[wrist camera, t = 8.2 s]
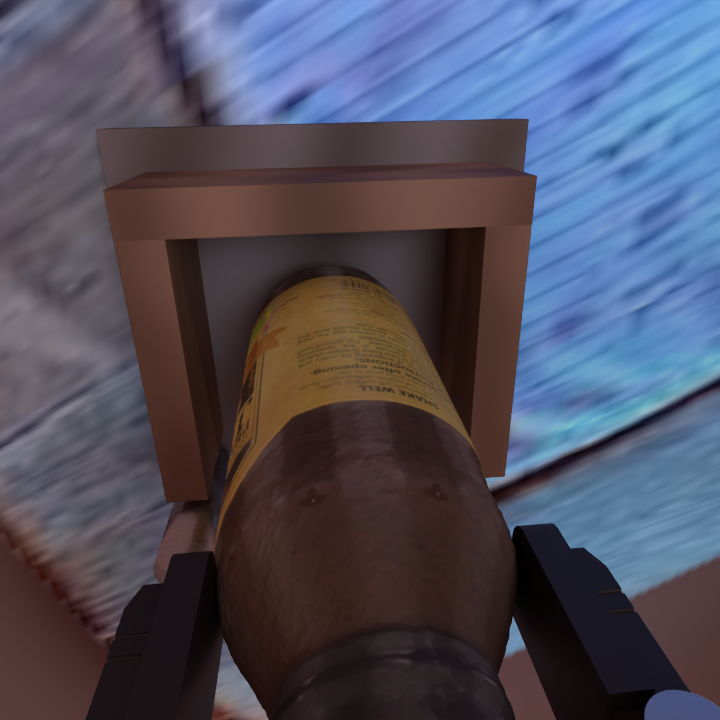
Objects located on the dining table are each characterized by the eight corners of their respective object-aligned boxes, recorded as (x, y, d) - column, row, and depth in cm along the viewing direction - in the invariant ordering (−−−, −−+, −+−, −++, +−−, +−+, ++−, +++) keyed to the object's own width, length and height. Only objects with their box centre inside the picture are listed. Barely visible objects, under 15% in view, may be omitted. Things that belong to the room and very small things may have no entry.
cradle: (519, 118, 22) (590, 122, 17) (491, 422, 28) (538, 497, 23) (104, 128, 21) (36, 135, 15) (165, 444, 27) (131, 531, 21)
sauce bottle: (230, 286, 21) (-153, 1258, 3) (387, 239, 21) (879, 995, 3) (283, 423, 24) (233, 1368, 6) (423, 383, 24) (798, 1230, 6)
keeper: (178, 464, 25) (141, 571, 20) (208, 437, 25) (180, 539, 19) (430, 655, 32) (459, 777, 27) (457, 637, 32) (493, 757, 26)
